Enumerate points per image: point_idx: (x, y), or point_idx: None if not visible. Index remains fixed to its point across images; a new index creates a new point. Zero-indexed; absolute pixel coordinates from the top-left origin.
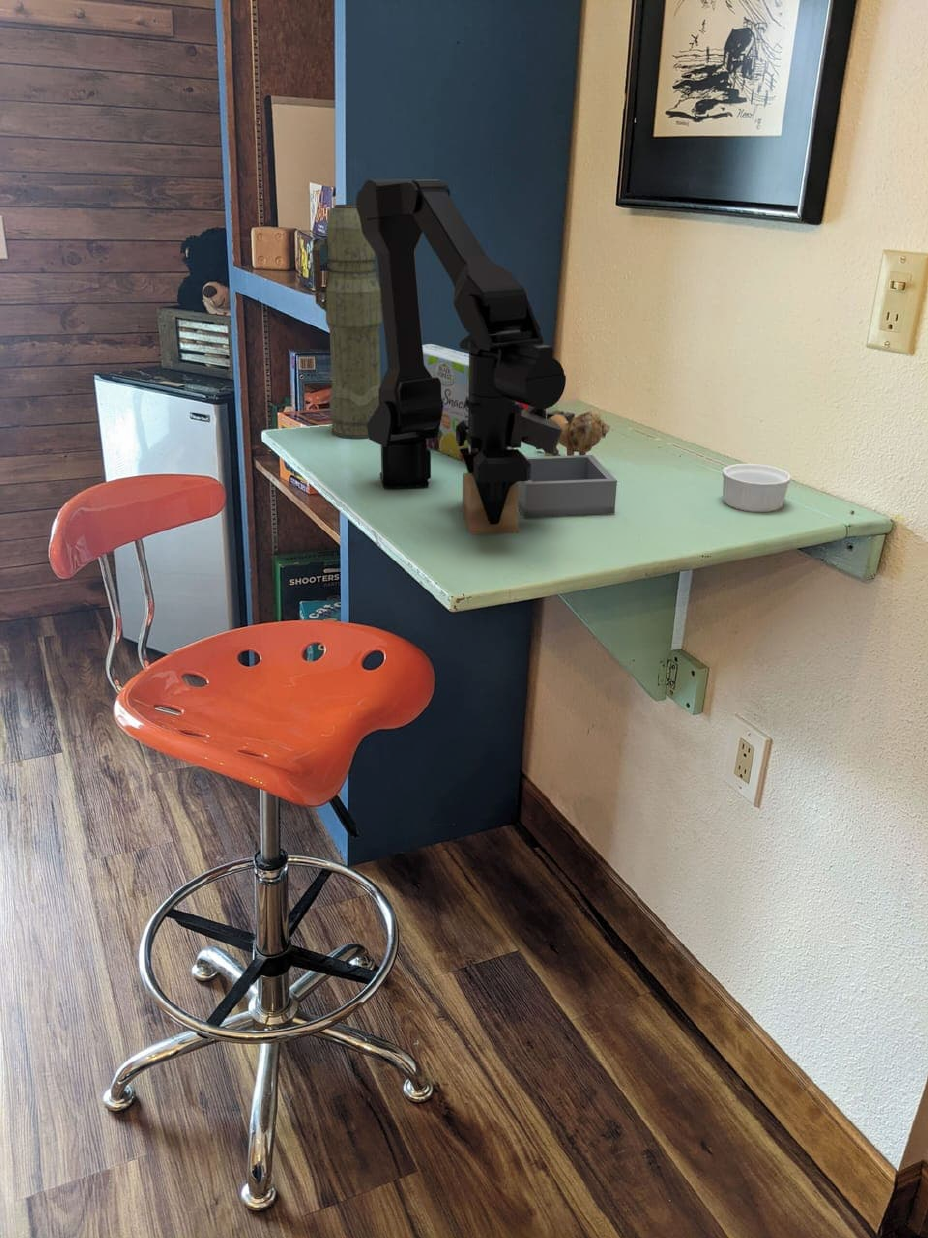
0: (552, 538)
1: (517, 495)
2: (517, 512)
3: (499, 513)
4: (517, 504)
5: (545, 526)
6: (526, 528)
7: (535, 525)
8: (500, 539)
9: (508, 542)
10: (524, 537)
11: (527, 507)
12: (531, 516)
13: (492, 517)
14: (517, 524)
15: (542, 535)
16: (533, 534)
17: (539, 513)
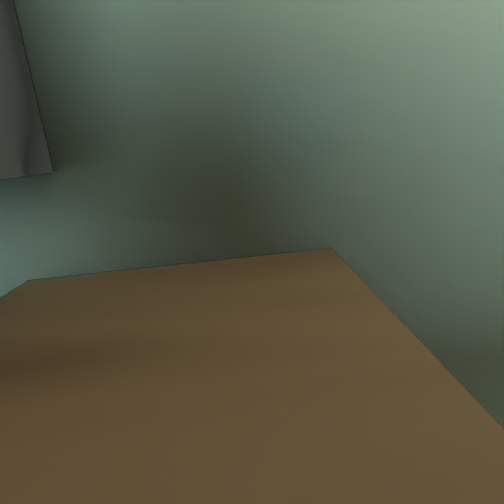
0: (478, 15)
1: (486, 423)
2: (378, 302)
3: None
4: (418, 344)
5: (229, 33)
6: (266, 182)
7: (208, 110)
8: (438, 350)
9: (492, 311)
10: (428, 212)
11: (3, 156)
12: (38, 120)
13: None
14: (344, 263)
15: (409, 84)
16: (383, 146)
17: (8, 47)
